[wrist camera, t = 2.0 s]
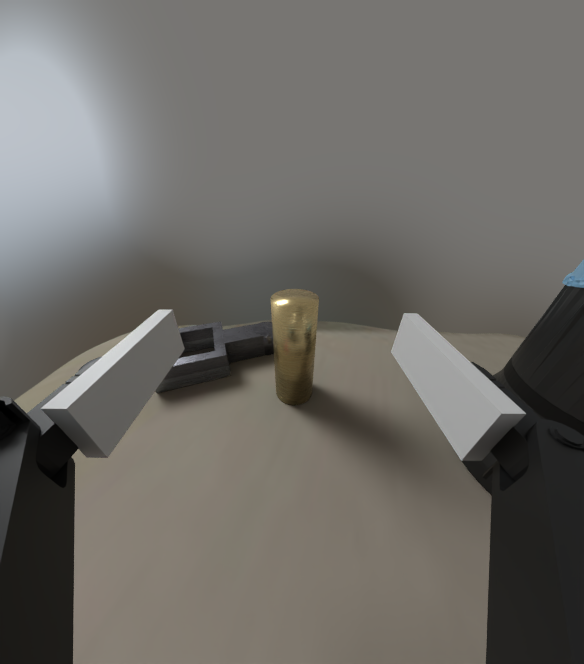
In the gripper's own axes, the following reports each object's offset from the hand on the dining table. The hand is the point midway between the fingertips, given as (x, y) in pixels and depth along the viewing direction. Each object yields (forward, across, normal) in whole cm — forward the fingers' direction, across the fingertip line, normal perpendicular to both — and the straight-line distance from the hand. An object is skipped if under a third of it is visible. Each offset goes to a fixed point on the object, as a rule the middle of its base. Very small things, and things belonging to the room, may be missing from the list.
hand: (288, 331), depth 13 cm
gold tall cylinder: (+10, +1, -16) cm, 19 cm away
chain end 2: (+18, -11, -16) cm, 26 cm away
